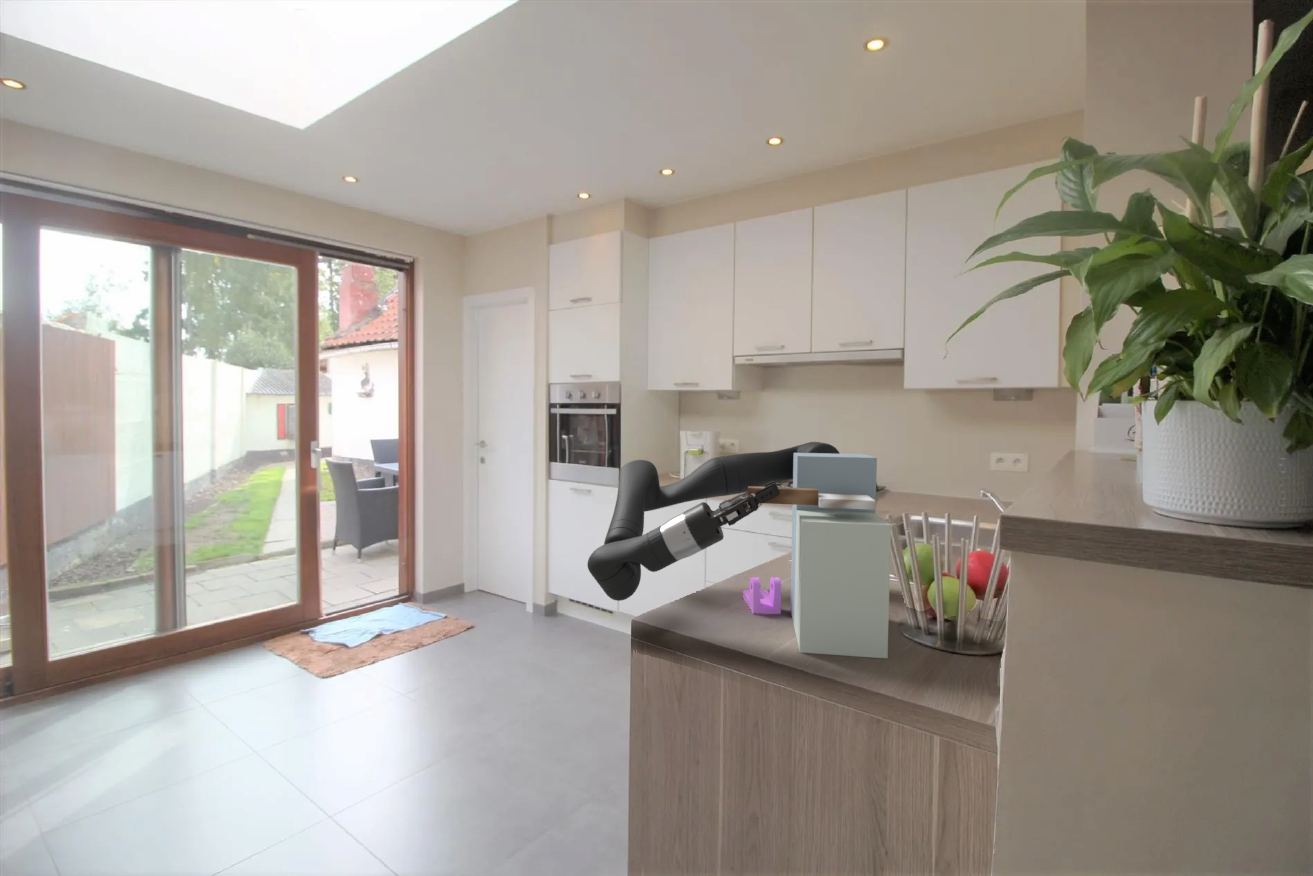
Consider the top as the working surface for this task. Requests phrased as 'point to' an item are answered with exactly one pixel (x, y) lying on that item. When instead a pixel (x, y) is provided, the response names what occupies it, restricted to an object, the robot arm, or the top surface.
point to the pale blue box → (839, 561)
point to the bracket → (764, 596)
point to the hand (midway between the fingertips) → (777, 487)
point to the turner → (818, 498)
